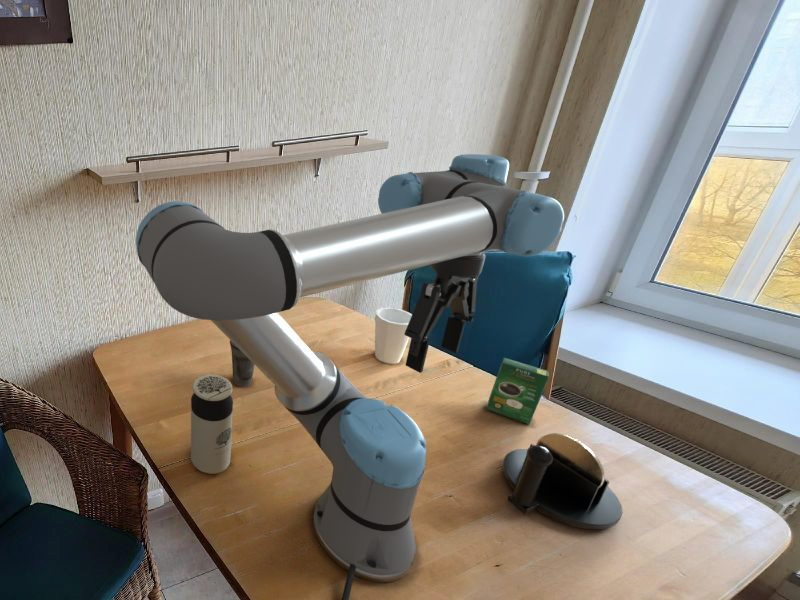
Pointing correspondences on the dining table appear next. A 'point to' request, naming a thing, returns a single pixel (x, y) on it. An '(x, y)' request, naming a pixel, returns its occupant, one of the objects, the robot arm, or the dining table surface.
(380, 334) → the foam cup
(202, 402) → the travel mug
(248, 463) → the dining table surface
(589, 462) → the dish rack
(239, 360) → the beverage cup
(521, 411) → the coffee box
